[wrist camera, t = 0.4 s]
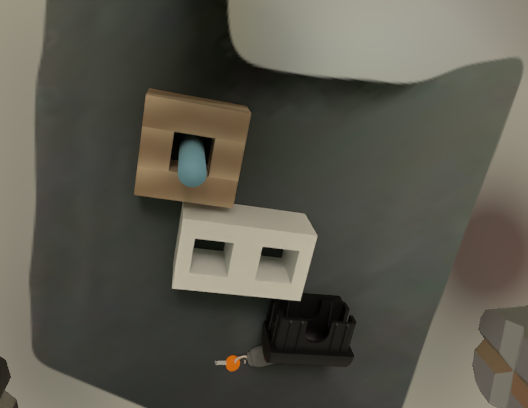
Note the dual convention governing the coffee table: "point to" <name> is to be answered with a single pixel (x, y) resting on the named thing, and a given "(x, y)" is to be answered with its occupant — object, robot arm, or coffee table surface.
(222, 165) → the mount block
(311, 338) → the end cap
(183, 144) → the pin
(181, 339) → the coffee table surface
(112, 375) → the coffee table surface
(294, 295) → the white cinder block
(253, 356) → the key chain
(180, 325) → the coffee table surface
